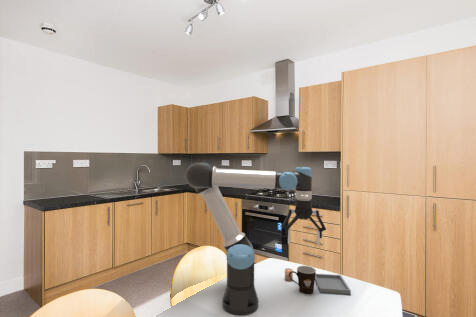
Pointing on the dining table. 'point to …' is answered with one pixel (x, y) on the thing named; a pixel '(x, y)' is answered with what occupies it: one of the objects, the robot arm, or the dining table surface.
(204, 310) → the dining table surface
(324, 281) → the tray
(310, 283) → the coffee mug
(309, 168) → the robot arm
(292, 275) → the terracotta cylinder
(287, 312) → the dining table surface
